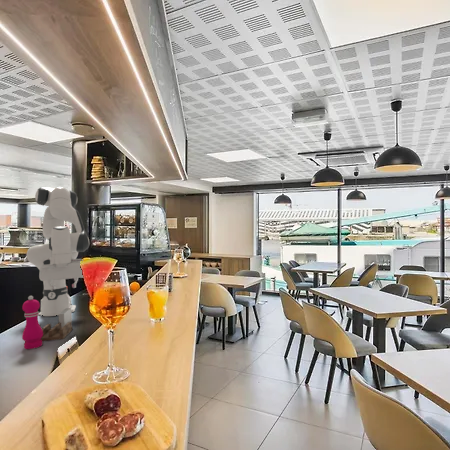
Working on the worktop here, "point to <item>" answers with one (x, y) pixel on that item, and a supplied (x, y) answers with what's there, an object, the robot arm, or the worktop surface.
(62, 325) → the clay strip
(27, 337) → the pepper mill
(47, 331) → the walnut rack
